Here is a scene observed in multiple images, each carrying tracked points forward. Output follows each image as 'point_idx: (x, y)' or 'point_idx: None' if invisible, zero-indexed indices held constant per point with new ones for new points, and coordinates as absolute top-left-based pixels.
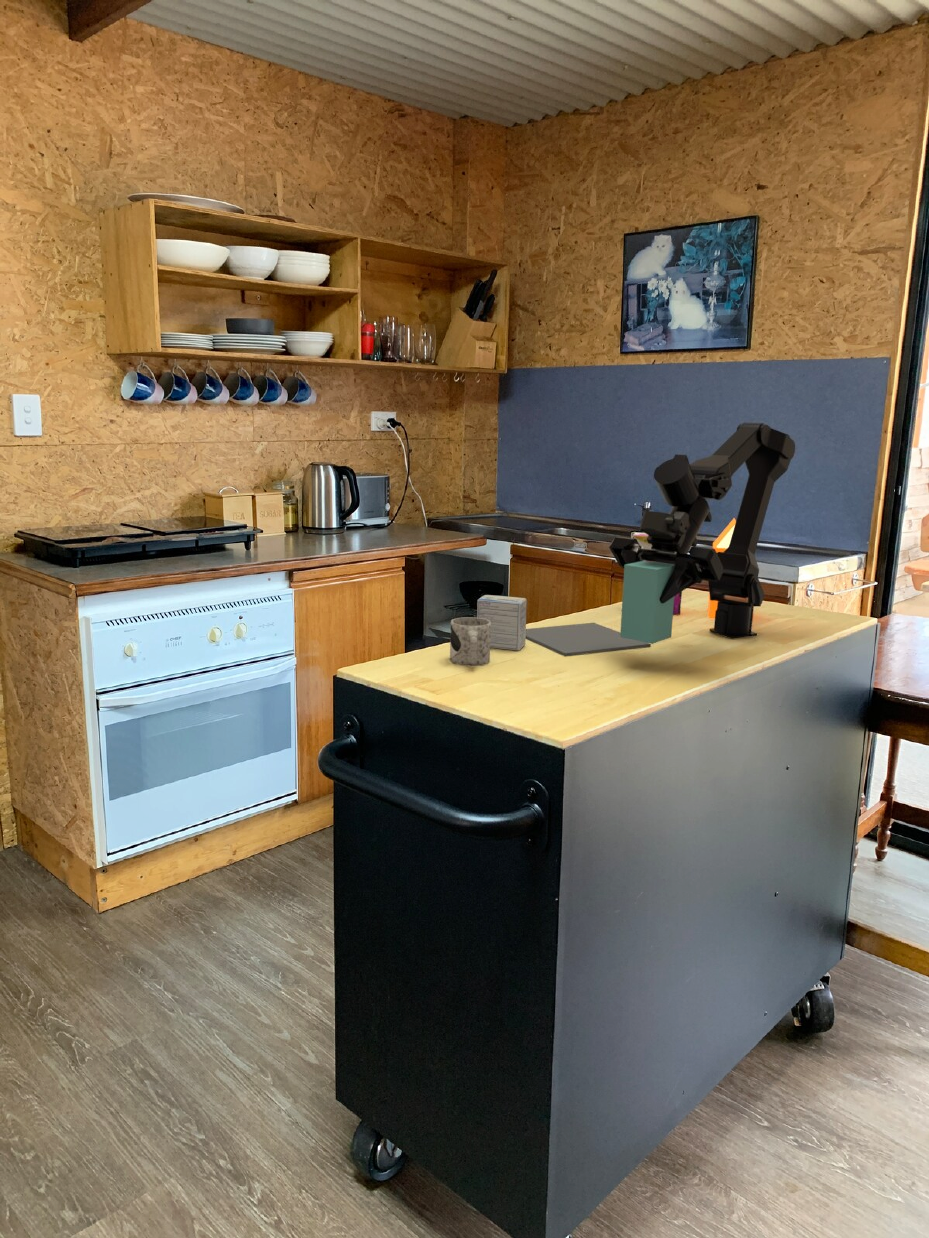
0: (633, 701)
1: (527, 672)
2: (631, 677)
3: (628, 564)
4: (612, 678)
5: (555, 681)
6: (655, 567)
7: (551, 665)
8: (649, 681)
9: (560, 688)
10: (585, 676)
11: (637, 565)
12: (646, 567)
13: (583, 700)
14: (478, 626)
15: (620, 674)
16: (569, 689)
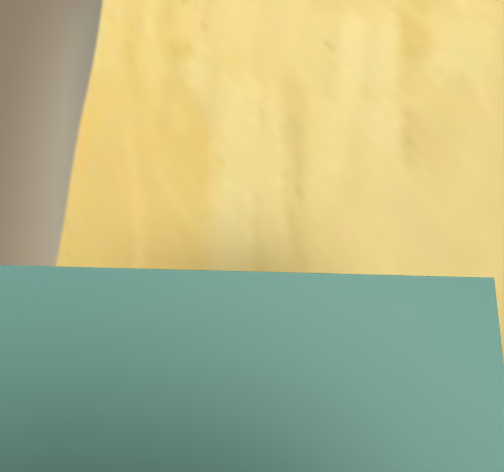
0: (127, 73)
1: (471, 78)
2: (229, 243)
3: (474, 360)
4: (264, 195)
5: (359, 68)
6: (8, 424)
7: (478, 181)
8: (170, 244)
9: (312, 33)
10: (331, 158)
11: (310, 380)
12: (117, 312)
13: (218, 4)
14: None
15: (269, 247)
16: (291, 42)
